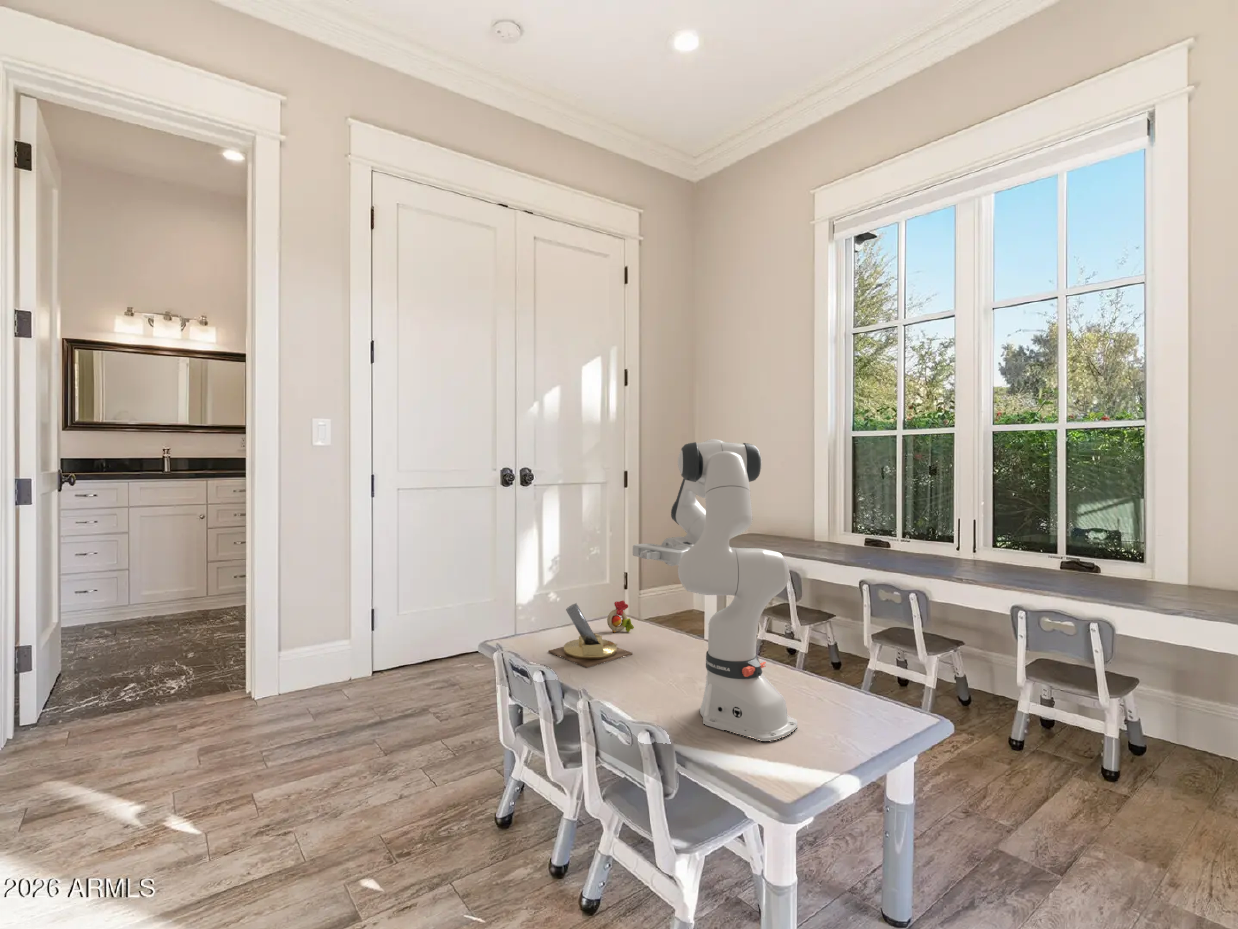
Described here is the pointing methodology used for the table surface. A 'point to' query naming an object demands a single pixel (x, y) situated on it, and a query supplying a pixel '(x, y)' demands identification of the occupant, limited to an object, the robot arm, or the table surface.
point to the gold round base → (590, 649)
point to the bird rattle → (615, 620)
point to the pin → (581, 625)
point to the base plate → (590, 663)
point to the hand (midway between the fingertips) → (643, 555)
